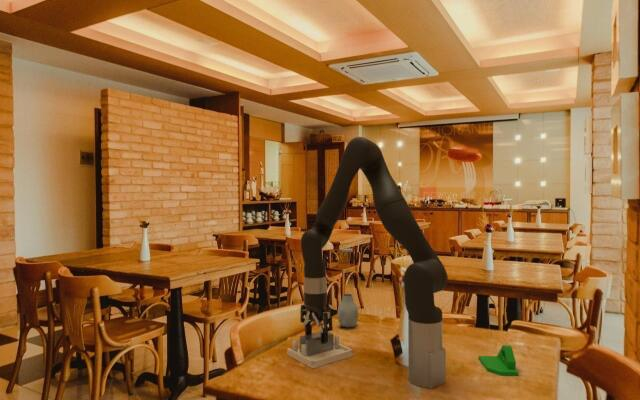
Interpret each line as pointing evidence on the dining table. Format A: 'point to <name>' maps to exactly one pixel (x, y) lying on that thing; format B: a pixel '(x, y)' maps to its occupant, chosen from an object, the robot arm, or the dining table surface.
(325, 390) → the dining table surface
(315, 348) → the block
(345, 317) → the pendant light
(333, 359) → the tray
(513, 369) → the bracket
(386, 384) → the dining table surface
